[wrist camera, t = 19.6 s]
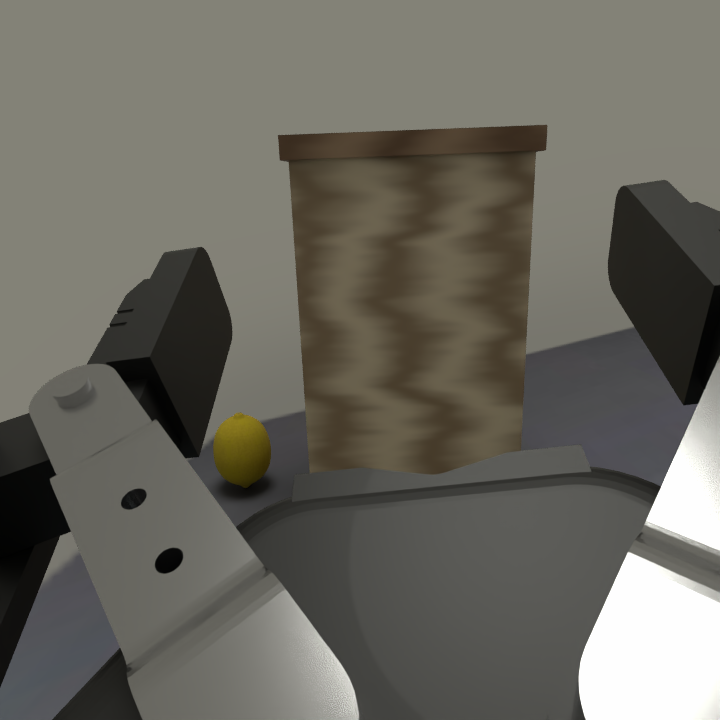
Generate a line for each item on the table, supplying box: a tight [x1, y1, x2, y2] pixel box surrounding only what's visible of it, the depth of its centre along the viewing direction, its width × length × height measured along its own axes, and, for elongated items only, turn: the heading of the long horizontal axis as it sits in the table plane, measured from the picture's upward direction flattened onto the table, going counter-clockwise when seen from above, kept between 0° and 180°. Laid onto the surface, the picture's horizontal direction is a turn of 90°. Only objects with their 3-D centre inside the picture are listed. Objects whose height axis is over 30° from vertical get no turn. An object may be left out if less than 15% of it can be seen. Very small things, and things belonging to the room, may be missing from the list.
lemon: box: [213, 413, 271, 488], centre depth 58 cm, size 6×6×8 cm
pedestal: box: [278, 125, 547, 475], centre depth 49 cm, size 17×15×32 cm
